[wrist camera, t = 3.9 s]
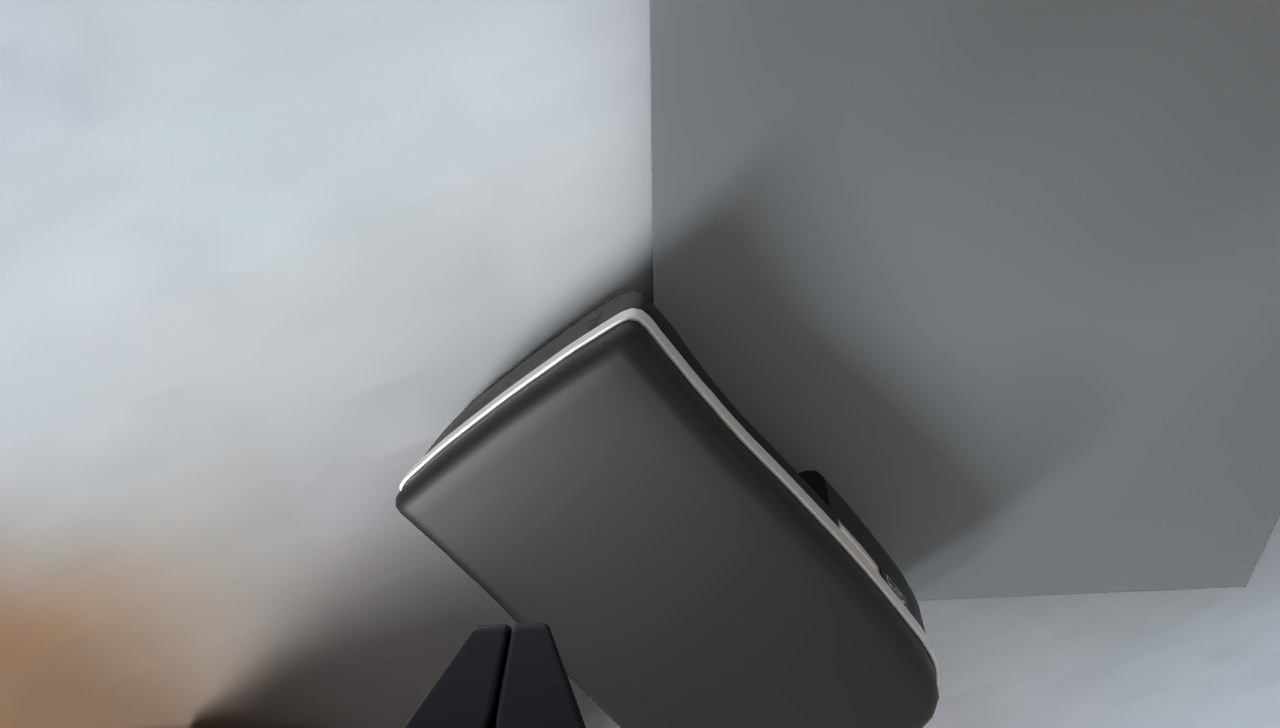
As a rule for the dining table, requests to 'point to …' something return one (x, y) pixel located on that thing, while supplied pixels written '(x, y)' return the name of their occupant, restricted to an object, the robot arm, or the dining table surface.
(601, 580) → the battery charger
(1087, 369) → the mat
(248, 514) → the dining table surface
